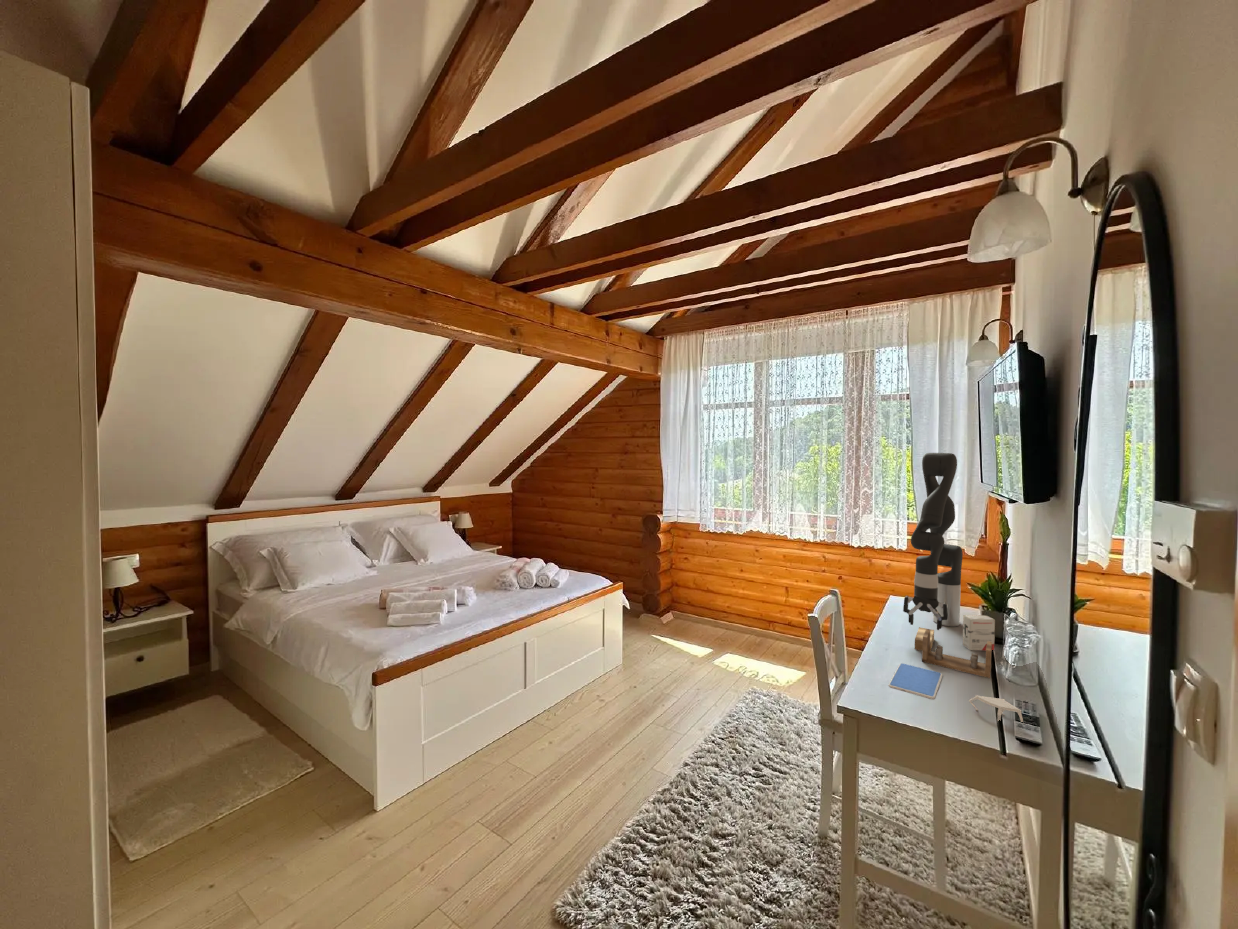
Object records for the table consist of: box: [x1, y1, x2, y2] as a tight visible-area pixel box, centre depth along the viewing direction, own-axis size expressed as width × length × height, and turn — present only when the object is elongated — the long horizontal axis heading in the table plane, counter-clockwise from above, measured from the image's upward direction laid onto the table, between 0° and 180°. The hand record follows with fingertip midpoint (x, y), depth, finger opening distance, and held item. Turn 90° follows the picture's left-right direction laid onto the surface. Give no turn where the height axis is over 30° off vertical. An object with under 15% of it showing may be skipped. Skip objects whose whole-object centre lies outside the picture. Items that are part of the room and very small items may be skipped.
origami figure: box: [968, 694, 1024, 723], centre depth 138 cm, size 12×8×5 cm
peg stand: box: [921, 628, 993, 679], centre depth 170 cm, size 9×19×9 cm, turn 51°
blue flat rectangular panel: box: [887, 662, 943, 700], centre depth 159 cm, size 19×13×1 cm, turn 140°
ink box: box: [962, 614, 996, 652], centre depth 183 cm, size 9×5×12 cm, turn 84°
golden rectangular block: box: [914, 627, 935, 651], centre depth 187 cm, size 14×5×4 cm, turn 143°
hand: (924, 626), depth 186 cm, fingers open, 8 cm apart
